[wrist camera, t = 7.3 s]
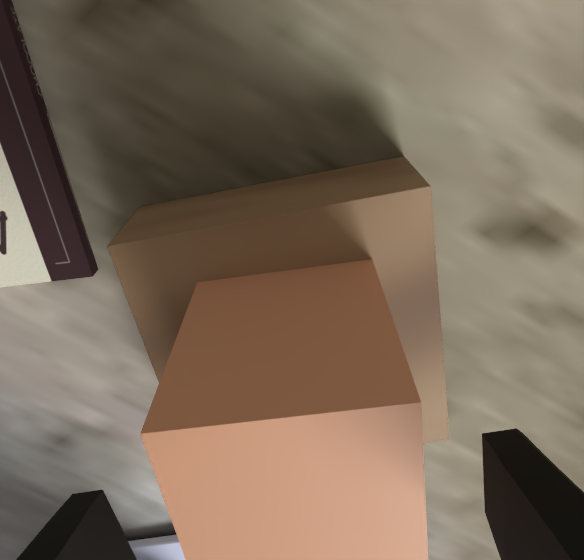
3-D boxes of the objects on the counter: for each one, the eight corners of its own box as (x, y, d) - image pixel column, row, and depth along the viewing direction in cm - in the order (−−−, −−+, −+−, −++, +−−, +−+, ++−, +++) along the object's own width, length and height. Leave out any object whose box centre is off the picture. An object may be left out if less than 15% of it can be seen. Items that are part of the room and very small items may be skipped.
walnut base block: (422, 369, 19) (449, 439, 16) (210, 403, 19) (194, 476, 16) (401, 153, 15) (430, 186, 12) (142, 203, 16) (107, 246, 13)
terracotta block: (384, 400, 15) (428, 584, 10) (231, 417, 15) (201, 604, 10) (372, 259, 13) (421, 402, 8) (197, 282, 13) (140, 433, 8)
